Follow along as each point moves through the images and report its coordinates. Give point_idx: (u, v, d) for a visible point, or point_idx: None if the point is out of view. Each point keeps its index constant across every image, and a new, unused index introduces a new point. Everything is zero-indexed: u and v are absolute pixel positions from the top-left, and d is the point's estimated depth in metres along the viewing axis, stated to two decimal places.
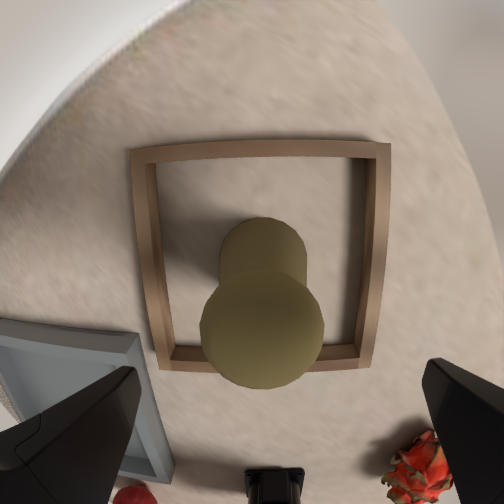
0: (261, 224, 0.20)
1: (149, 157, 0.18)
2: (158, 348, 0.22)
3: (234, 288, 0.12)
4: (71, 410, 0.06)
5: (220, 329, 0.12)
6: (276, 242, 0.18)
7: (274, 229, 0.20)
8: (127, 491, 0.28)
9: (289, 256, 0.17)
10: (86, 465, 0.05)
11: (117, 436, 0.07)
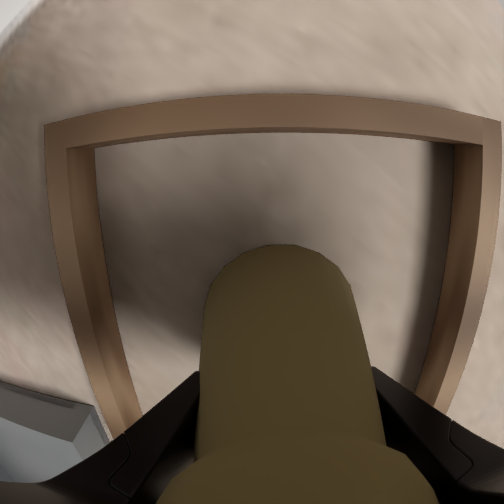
0: (281, 260, 0.11)
1: (73, 136, 0.09)
2: None
3: None
4: (160, 426, 0.06)
5: None
6: (318, 309, 0.08)
7: (307, 272, 0.10)
8: None
9: (348, 344, 0.07)
10: None
11: None
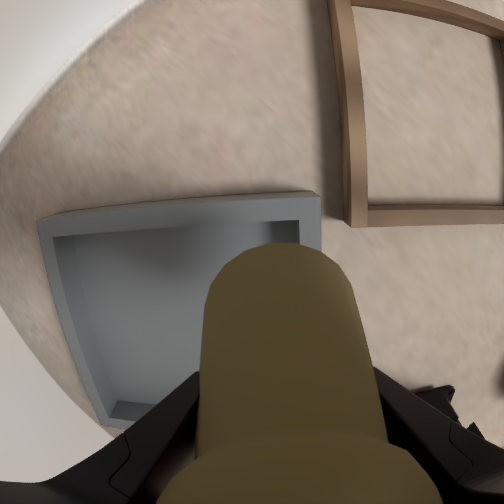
0: (281, 258, 0.11)
1: None
2: (356, 193, 0.18)
3: None
4: (160, 426, 0.06)
5: None
6: (319, 306, 0.08)
7: (307, 269, 0.10)
8: None
9: (350, 341, 0.07)
10: None
11: None
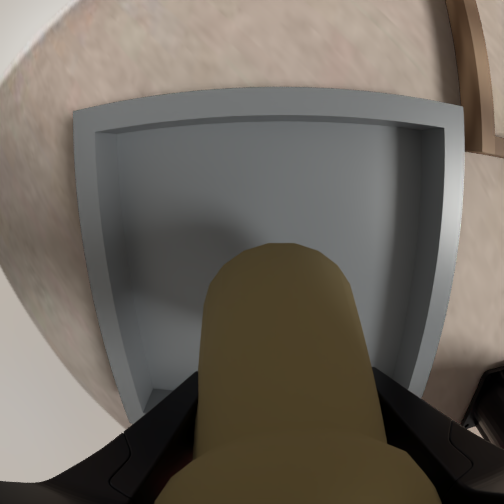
0: (280, 258, 0.11)
1: None
2: (485, 115, 0.12)
3: None
4: (160, 426, 0.06)
5: None
6: (317, 307, 0.08)
7: (306, 270, 0.10)
8: None
9: (348, 341, 0.07)
10: None
11: None
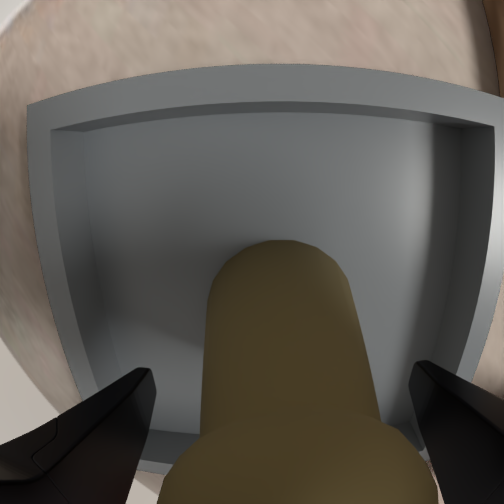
0: (280, 254, 0.11)
1: None
2: None
3: None
4: (88, 414, 0.06)
5: None
6: (315, 298, 0.09)
7: (305, 264, 0.10)
8: None
9: (344, 330, 0.08)
10: (104, 470, 0.05)
11: (134, 439, 0.07)
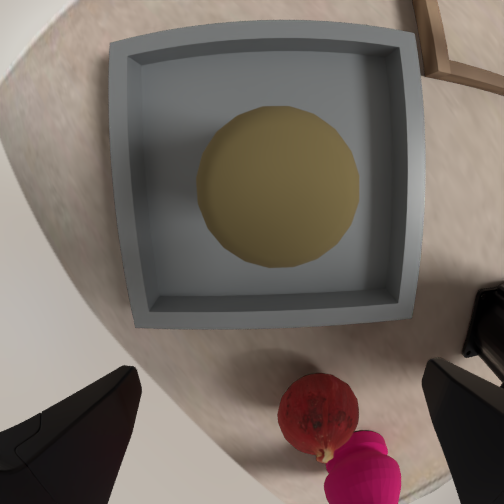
0: None
1: None
2: (438, 43, 0.15)
3: (242, 114, 0.09)
4: (71, 410, 0.06)
5: (224, 159, 0.09)
6: None
7: None
8: (313, 378, 0.21)
9: None
10: (86, 465, 0.05)
11: (117, 436, 0.07)
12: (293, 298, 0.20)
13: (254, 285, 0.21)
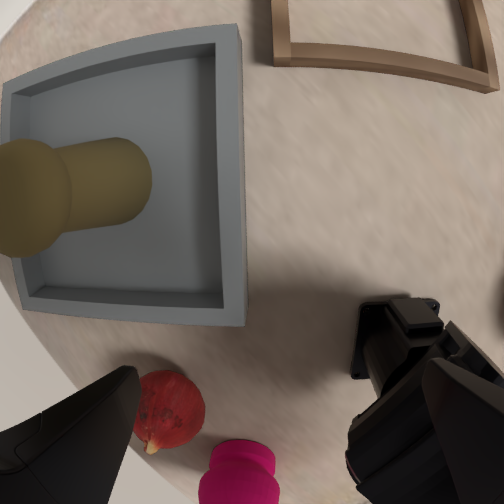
0: None
1: None
2: (277, 28, 0.16)
3: None
4: (71, 410, 0.06)
5: None
6: (89, 143, 0.16)
7: (105, 140, 0.17)
8: (156, 373, 0.21)
9: (90, 149, 0.15)
10: (86, 465, 0.05)
11: (117, 436, 0.07)
12: (134, 295, 0.21)
13: (107, 281, 0.22)
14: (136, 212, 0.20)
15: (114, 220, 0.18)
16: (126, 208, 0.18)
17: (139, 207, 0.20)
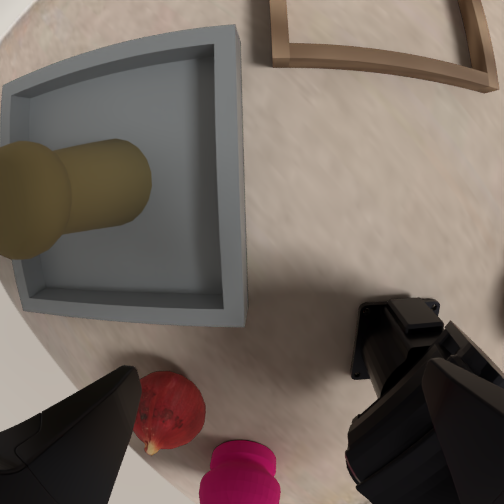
0: None
1: None
2: (276, 28, 0.16)
3: None
4: (71, 410, 0.06)
5: None
6: (89, 145, 0.16)
7: (105, 141, 0.17)
8: (157, 374, 0.21)
9: (89, 151, 0.15)
10: (86, 465, 0.05)
11: (117, 436, 0.07)
12: (134, 296, 0.21)
13: (108, 282, 0.22)
14: (136, 213, 0.20)
15: (114, 221, 0.18)
16: (126, 209, 0.18)
17: (139, 208, 0.20)
